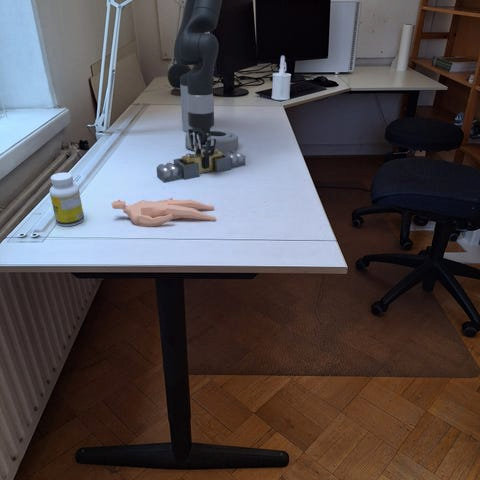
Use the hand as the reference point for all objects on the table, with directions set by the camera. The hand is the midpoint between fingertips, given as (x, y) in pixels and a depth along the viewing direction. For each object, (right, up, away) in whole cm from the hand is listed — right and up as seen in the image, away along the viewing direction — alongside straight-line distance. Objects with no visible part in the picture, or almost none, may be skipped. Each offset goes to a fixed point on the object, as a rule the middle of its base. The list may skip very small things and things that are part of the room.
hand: (202, 165), depth 136 cm
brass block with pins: (0, -1, +1) cm, 1 cm away
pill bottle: (-30, -18, -29) cm, 45 cm away
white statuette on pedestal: (+32, +49, +88) cm, 106 cm away
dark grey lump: (-19, +54, +96) cm, 111 cm away
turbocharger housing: (+3, +9, +20) cm, 22 cm away
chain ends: (0, -1, +1) cm, 2 cm away
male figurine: (-7, -17, -26) cm, 32 cm away
